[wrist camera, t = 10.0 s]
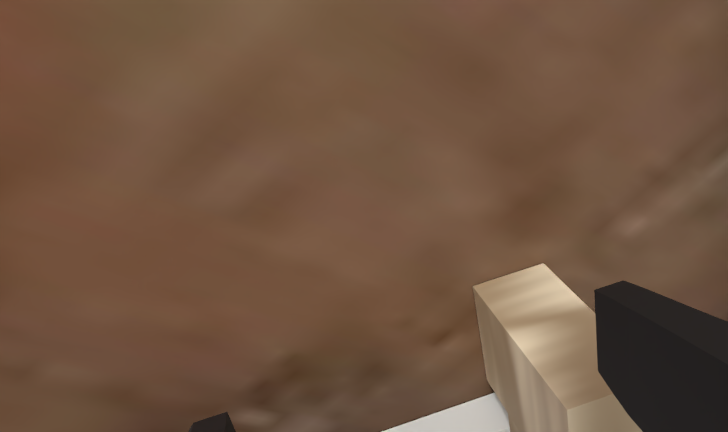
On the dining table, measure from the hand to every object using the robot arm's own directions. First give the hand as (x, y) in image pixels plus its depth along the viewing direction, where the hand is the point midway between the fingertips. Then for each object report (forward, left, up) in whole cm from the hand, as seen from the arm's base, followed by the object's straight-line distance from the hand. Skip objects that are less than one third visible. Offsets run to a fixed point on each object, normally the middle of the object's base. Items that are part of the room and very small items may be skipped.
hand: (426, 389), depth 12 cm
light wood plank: (+6, -13, -10) cm, 18 cm away
